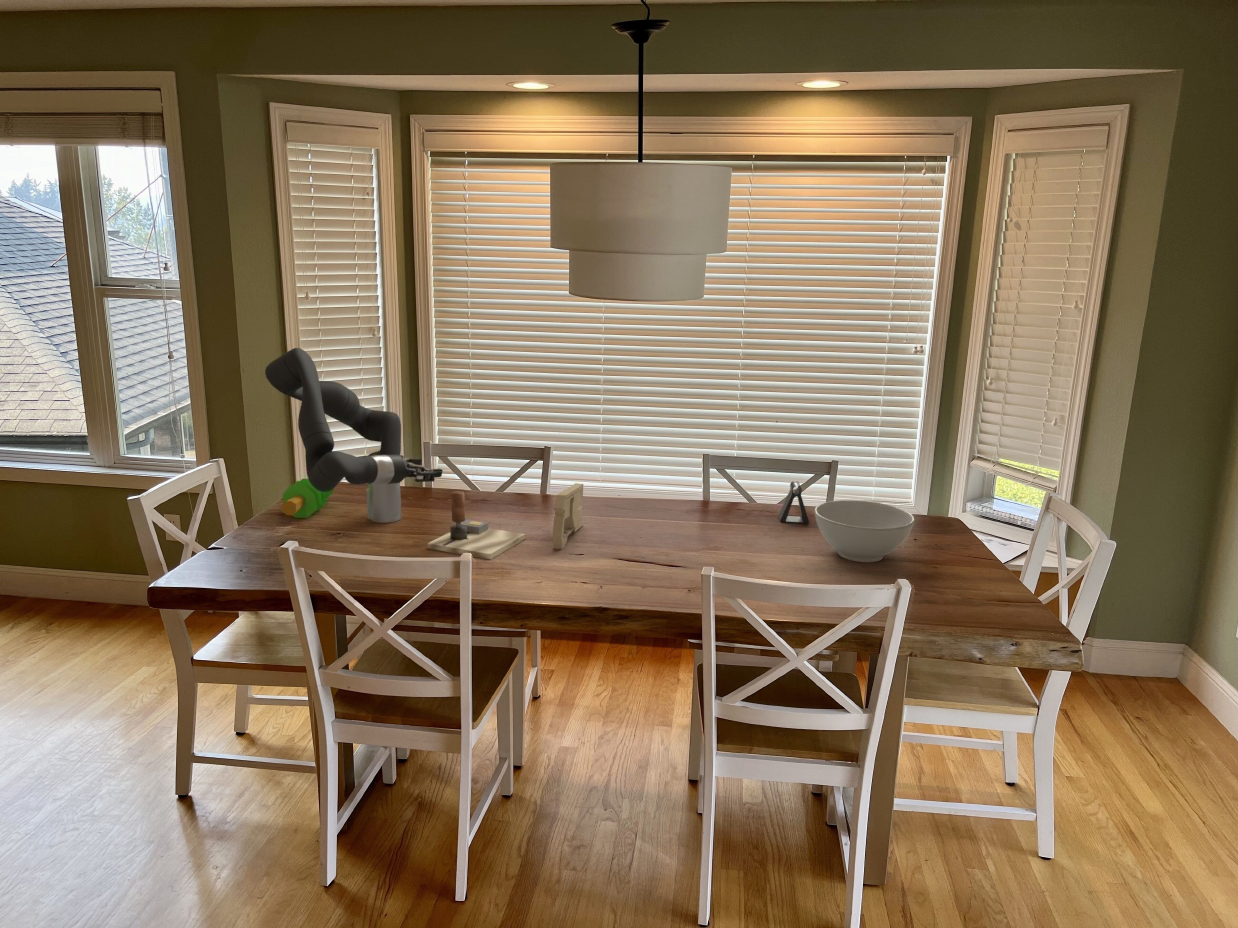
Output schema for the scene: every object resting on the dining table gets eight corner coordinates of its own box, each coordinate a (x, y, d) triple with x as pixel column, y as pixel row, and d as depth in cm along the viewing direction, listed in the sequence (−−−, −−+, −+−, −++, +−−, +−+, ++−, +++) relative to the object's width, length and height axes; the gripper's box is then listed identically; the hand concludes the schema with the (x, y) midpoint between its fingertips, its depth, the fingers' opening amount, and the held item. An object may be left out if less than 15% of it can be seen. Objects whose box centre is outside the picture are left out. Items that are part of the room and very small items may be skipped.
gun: (562, 550, 248) (563, 497, 246) (550, 549, 249) (552, 496, 247) (583, 531, 272) (584, 483, 270) (572, 531, 273) (574, 482, 270)
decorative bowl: (825, 534, 268) (828, 495, 266) (918, 549, 257) (922, 508, 254) (799, 560, 245) (802, 518, 242) (900, 578, 233) (904, 534, 231)
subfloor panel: (427, 548, 248) (427, 542, 248) (465, 529, 265) (465, 524, 265) (490, 559, 241) (490, 553, 240) (524, 539, 258) (524, 533, 257)
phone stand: (807, 518, 284) (809, 481, 281) (809, 523, 278) (811, 486, 275) (778, 516, 285) (780, 480, 282) (779, 522, 279) (782, 485, 276)
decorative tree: (277, 484, 264) (320, 456, 292) (266, 517, 267) (310, 487, 296) (313, 499, 264) (352, 471, 292) (302, 532, 267) (342, 501, 296)
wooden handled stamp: (447, 538, 252) (446, 493, 249) (456, 533, 256) (455, 489, 253) (461, 540, 250) (460, 495, 247) (470, 536, 254) (469, 491, 251)
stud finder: (458, 530, 259) (458, 523, 258) (467, 525, 263) (467, 518, 263) (479, 533, 256) (479, 526, 256) (488, 529, 261) (488, 522, 260)
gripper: (363, 474, 234) (410, 471, 247) (398, 492, 226) (445, 489, 240) (368, 446, 232) (416, 446, 246) (404, 464, 225) (451, 463, 238)
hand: (430, 467), depth 243 cm, fingers open, 8 cm apart
